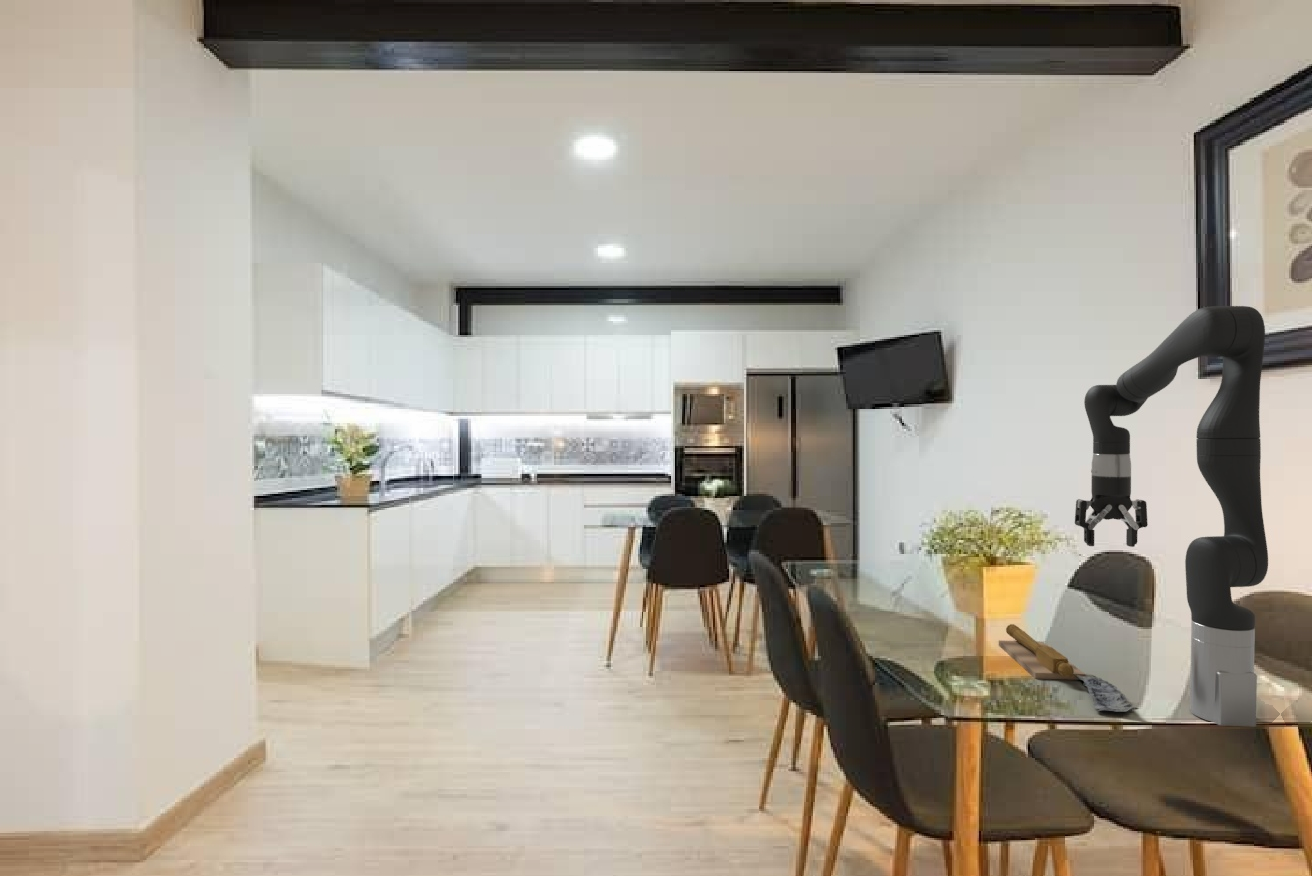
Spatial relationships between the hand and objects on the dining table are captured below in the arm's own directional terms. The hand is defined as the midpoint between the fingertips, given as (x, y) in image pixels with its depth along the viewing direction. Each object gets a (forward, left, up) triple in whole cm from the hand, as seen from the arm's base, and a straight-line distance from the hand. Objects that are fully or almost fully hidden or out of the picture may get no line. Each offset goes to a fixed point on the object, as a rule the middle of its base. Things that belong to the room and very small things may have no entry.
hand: (1110, 545), depth 164 cm
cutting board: (-2, +16, -26) cm, 31 cm away
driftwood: (-22, +12, -26) cm, 36 cm away
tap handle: (-2, +16, -25) cm, 30 cm away
